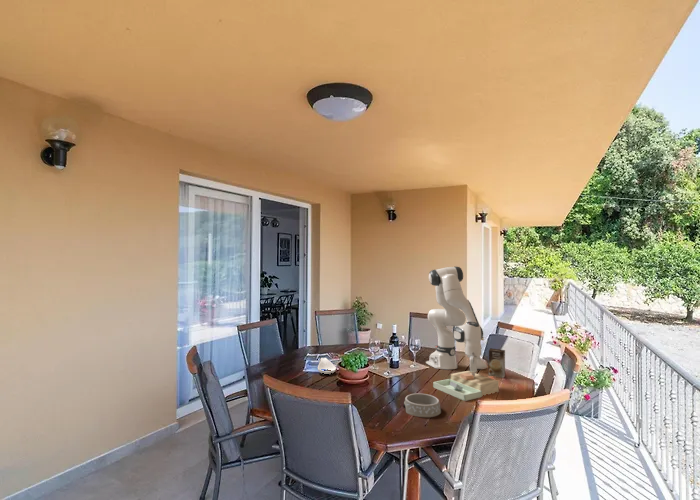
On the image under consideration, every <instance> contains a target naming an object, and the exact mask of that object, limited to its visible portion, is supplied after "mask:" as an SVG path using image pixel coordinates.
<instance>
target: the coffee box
mask: <svg viewBox="0 0 700 500" xmlns="http://www.w3.org/2000/svg"><path fill="white" fill-rule="evenodd" d="M488 376H489V377H495V378H502V379H504V378H505V376H506V350H505V349H499V348H489V350H488Z"/></svg>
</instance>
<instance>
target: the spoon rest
mask: <svg viewBox="0 0 700 500" xmlns="http://www.w3.org/2000/svg"><path fill="white" fill-rule="evenodd" d="M321 369H328V370H331V371H322V370H321ZM317 370H318V372H319V373H320V374H322V373H324V374H329V375H332V374H333V373H334V372H336V370H337V366H336V365H335V364H333V363H332V362H331V361H330V360H329V359H328V358H327V357H321V358H320V359H319V361H318V365H317ZM331 373H332V374H331ZM324 374H323V375H324Z"/></svg>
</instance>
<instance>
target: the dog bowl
mask: <svg viewBox="0 0 700 500" xmlns="http://www.w3.org/2000/svg"><path fill="white" fill-rule="evenodd" d="M403 407H405V413H406V414H407V415H409V416H415V417H419V418H433V417H437V416H439V415H440V414H441V413H442V409H441V403H440V399H439V398H437V397H436V396H434V395H432V394H427V393H411V394H408V395H406V396H405V398H404V402H403Z"/></svg>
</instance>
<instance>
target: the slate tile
mask: <svg viewBox="0 0 700 500" xmlns="http://www.w3.org/2000/svg"><path fill="white" fill-rule="evenodd" d="M450 385H451V386H452V387H454V388H456V389H458V390H460V391H462V389H463V387H461V386H459V385H458V384H456V383H453V382H450Z"/></svg>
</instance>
